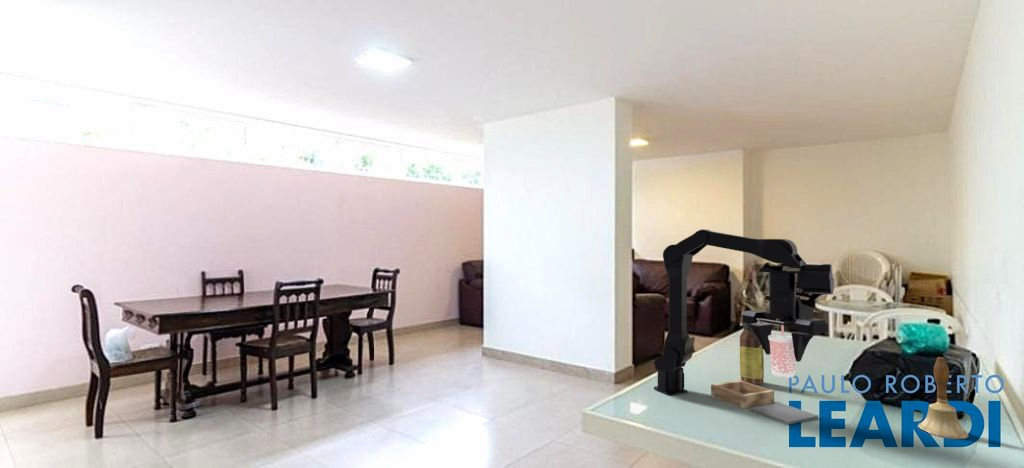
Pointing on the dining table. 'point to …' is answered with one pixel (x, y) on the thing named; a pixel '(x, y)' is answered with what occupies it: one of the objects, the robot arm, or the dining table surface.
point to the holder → (750, 395)
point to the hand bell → (942, 408)
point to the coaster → (784, 413)
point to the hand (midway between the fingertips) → (782, 357)
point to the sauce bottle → (751, 357)
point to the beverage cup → (782, 355)
